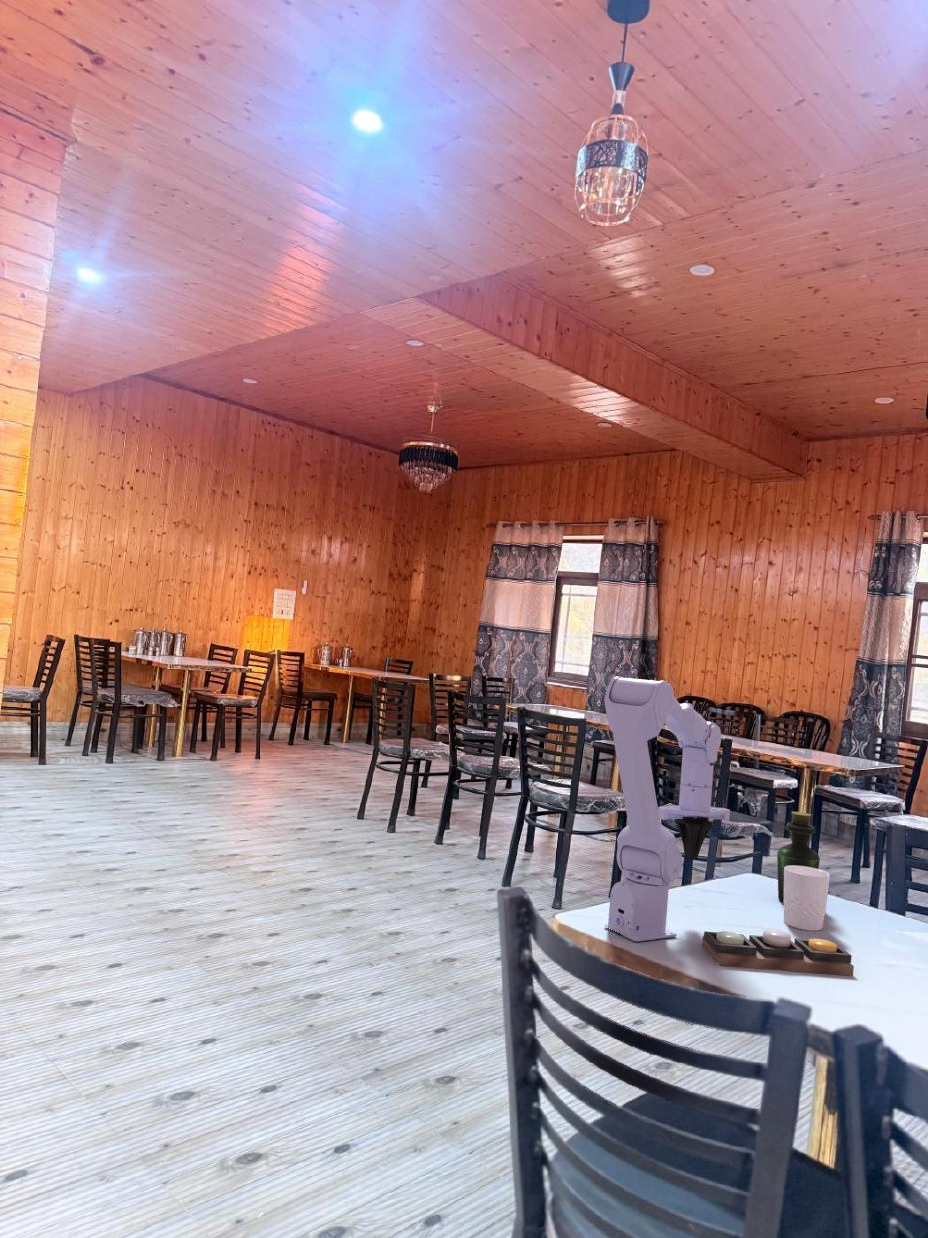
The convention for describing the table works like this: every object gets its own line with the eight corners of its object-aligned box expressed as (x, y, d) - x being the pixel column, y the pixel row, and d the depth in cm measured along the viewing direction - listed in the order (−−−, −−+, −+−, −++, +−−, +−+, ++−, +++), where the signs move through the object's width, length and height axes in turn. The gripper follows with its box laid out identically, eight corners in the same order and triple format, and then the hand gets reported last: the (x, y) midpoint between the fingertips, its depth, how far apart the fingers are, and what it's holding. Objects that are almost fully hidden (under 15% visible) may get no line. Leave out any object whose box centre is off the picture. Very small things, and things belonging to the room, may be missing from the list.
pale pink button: (768, 946, 136) (768, 937, 136) (758, 937, 140) (759, 928, 140) (794, 948, 136) (795, 939, 136) (784, 939, 140) (784, 930, 140)
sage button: (720, 948, 136) (721, 939, 136) (712, 939, 140) (713, 930, 140) (747, 950, 136) (747, 941, 136) (738, 941, 140) (738, 932, 140)
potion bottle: (774, 904, 172) (781, 814, 173) (773, 894, 180) (779, 808, 180) (818, 911, 170) (824, 819, 170) (815, 901, 177) (820, 813, 178)
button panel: (717, 965, 133) (719, 947, 133) (700, 945, 142) (701, 929, 142) (854, 976, 134) (855, 958, 134) (828, 955, 143) (829, 939, 143)
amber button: (814, 955, 136) (815, 946, 136) (803, 946, 140) (804, 937, 140) (841, 957, 136) (841, 948, 136) (829, 948, 140) (829, 939, 140)
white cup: (822, 935, 154) (825, 879, 154) (776, 925, 158) (780, 870, 158) (829, 925, 160) (833, 871, 161) (785, 915, 164) (788, 863, 165)
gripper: (675, 787, 154) (669, 864, 154) (742, 789, 159) (737, 863, 159) (653, 781, 161) (648, 854, 160) (718, 783, 166) (713, 854, 165)
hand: (690, 858), depth 160 cm, fingers closed
